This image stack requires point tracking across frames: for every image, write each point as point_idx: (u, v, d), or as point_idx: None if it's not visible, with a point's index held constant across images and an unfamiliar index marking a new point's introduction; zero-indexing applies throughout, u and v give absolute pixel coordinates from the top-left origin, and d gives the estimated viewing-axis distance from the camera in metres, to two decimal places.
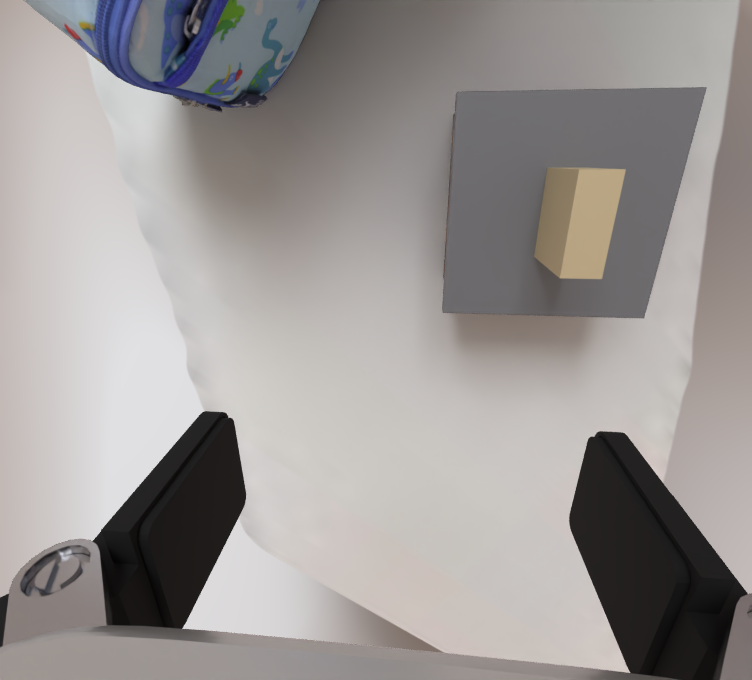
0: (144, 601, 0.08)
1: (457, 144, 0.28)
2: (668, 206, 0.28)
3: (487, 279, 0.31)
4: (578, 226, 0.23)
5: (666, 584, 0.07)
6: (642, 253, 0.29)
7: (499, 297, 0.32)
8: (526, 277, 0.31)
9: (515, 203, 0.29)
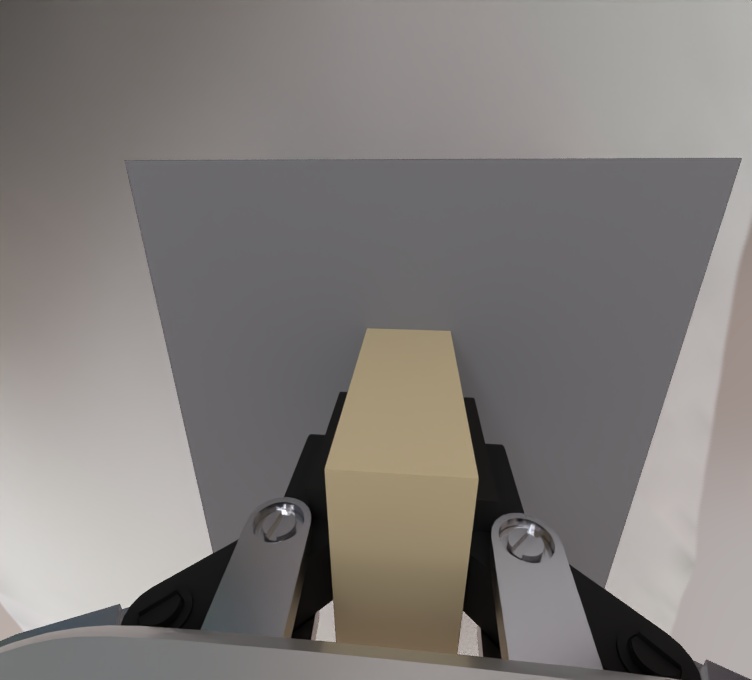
0: None
1: (157, 275, 0.12)
2: (645, 414, 0.12)
3: None
4: (359, 598, 0.08)
5: None
6: (593, 494, 0.14)
7: None
8: None
9: (312, 394, 0.13)
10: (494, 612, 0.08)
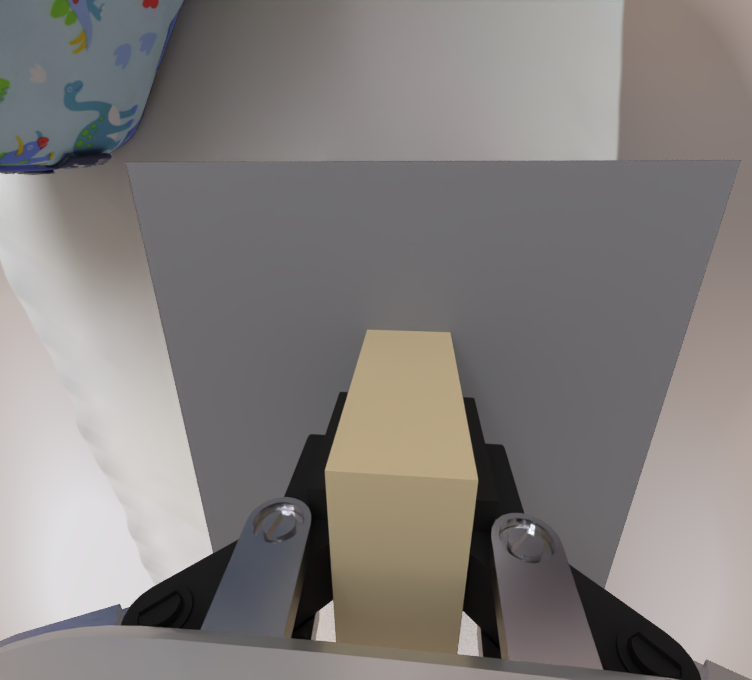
0: None
1: (158, 276, 0.12)
2: (645, 415, 0.12)
3: None
4: (359, 599, 0.08)
5: None
6: (592, 495, 0.14)
7: None
8: None
9: (312, 395, 0.13)
10: (494, 612, 0.08)
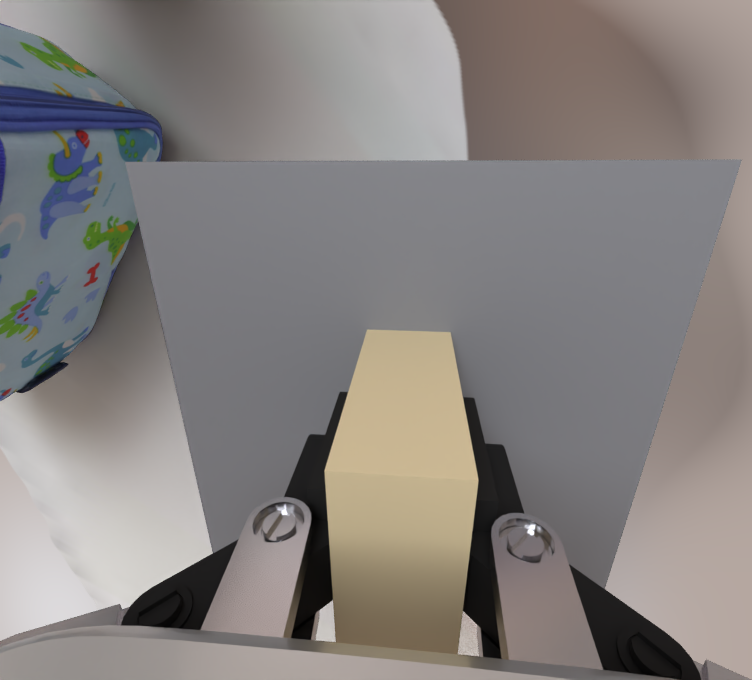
0: None
1: (157, 276, 0.12)
2: (646, 415, 0.12)
3: None
4: (359, 600, 0.08)
5: None
6: (593, 495, 0.14)
7: None
8: None
9: (312, 395, 0.13)
10: (494, 612, 0.08)
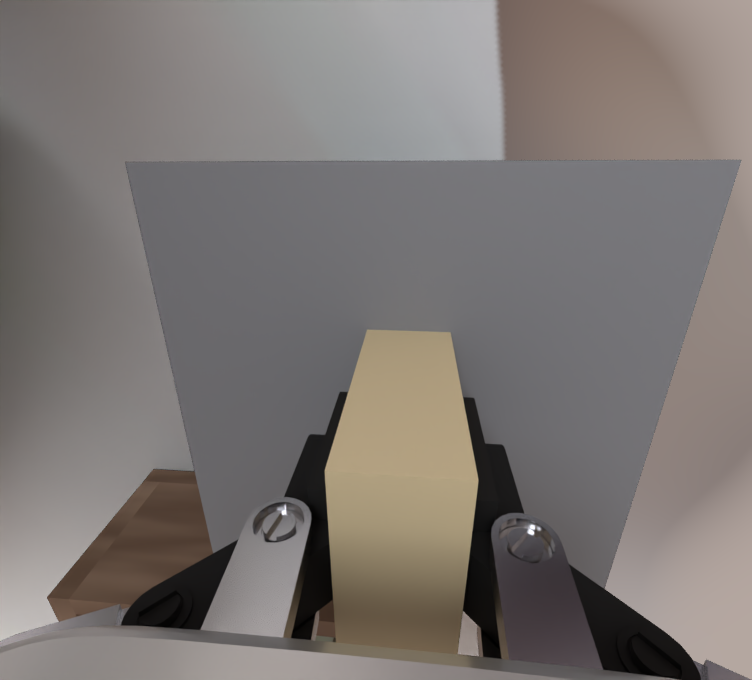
0: None
1: (157, 276, 0.12)
2: (646, 415, 0.12)
3: None
4: (359, 600, 0.08)
5: None
6: (592, 495, 0.14)
7: None
8: None
9: (312, 395, 0.13)
10: (494, 612, 0.08)
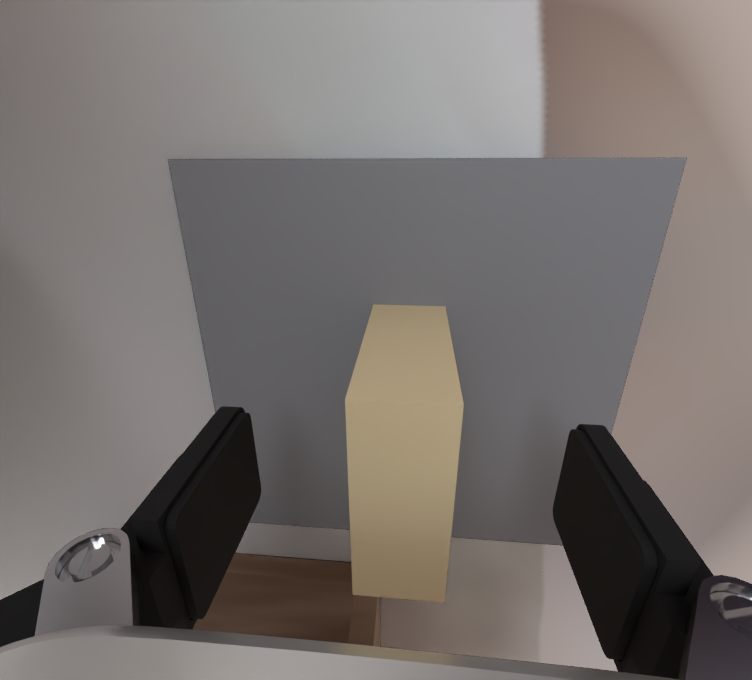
0: (170, 589, 0.08)
1: (192, 258, 0.14)
2: (614, 379, 0.14)
3: (299, 478, 0.17)
4: (370, 510, 0.10)
5: (636, 567, 0.07)
6: None
7: (325, 505, 0.18)
8: None
9: (325, 363, 0.15)
10: None
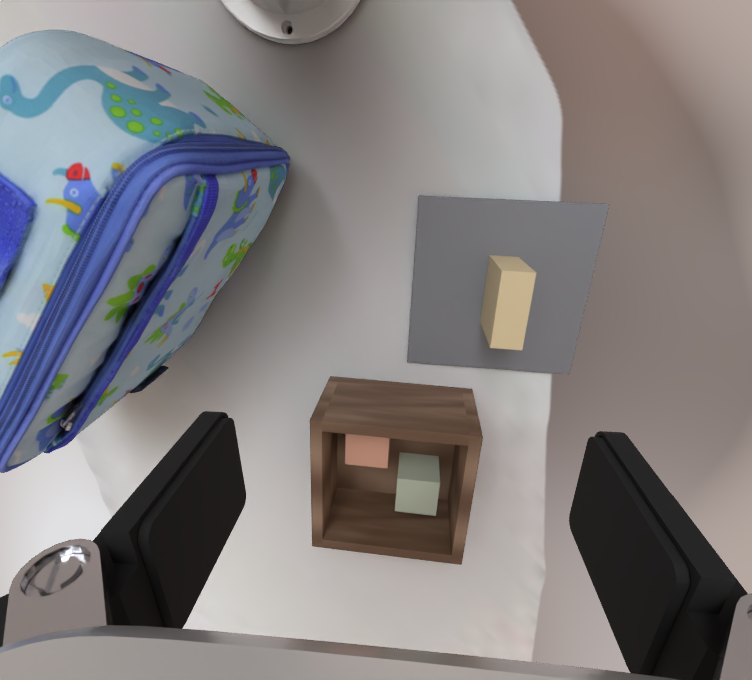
0: (144, 601, 0.08)
1: (418, 234, 0.35)
2: (584, 289, 0.35)
3: (443, 337, 0.38)
4: (502, 311, 0.31)
5: (666, 584, 0.07)
6: (566, 324, 0.37)
7: (452, 352, 0.39)
8: (474, 337, 0.38)
9: (465, 280, 0.36)
10: None
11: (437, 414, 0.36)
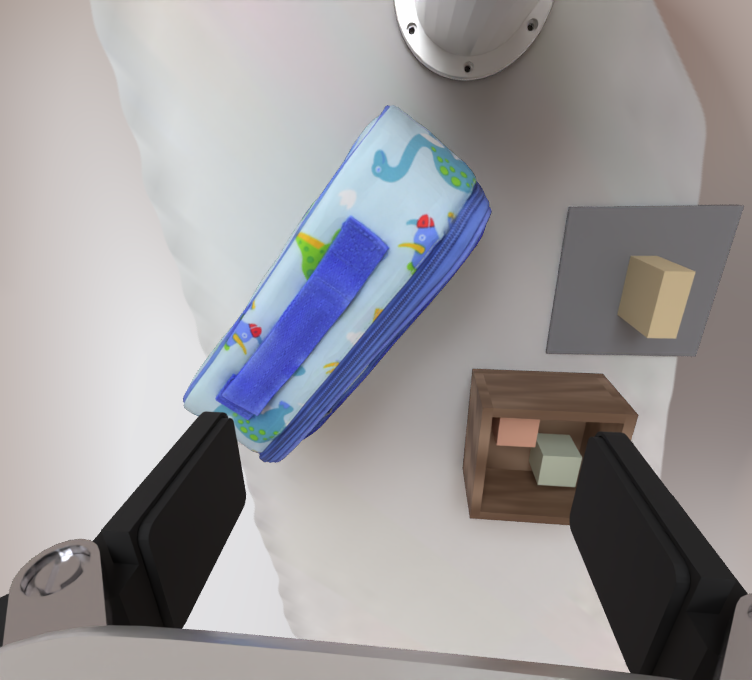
0: (144, 601, 0.08)
1: (567, 240, 0.40)
2: (715, 281, 0.40)
3: (581, 330, 0.43)
4: (661, 306, 0.35)
5: (666, 584, 0.07)
6: (696, 312, 0.41)
7: (589, 342, 0.44)
8: (610, 328, 0.43)
9: (606, 279, 0.41)
10: None
11: (587, 397, 0.41)
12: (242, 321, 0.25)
